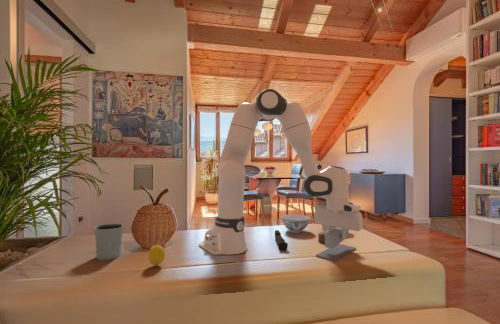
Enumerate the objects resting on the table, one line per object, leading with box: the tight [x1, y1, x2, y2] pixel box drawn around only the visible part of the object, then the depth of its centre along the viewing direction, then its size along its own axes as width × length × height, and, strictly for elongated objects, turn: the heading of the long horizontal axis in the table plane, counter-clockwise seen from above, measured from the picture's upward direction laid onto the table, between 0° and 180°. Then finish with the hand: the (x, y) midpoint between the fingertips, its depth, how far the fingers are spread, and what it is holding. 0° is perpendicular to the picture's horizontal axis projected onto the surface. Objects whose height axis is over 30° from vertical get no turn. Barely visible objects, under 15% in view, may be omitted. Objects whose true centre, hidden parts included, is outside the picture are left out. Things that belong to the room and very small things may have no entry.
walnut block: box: [317, 230, 329, 244], centre depth 132 cm, size 4×4×10 cm
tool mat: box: [315, 243, 357, 262], centre depth 115 cm, size 8×20×1 cm, turn 137°
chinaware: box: [281, 213, 311, 234], centre depth 147 cm, size 15×15×8 cm
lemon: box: [148, 243, 166, 267], centre depth 100 cm, size 6×6×8 cm
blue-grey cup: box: [94, 223, 124, 261], centre depth 109 cm, size 10×10×12 cm
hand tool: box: [274, 229, 289, 252], centre depth 126 cm, size 19×4×5 cm, turn 1°
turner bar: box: [324, 227, 350, 249], centre depth 115 cm, size 3×16×5 cm, turn 137°
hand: (337, 237), depth 115 cm, fingers closed on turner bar, 3 cm apart
